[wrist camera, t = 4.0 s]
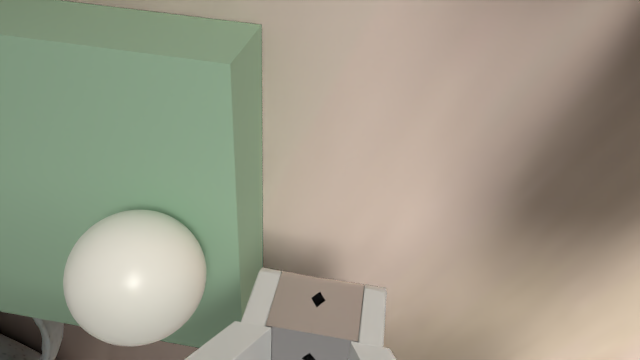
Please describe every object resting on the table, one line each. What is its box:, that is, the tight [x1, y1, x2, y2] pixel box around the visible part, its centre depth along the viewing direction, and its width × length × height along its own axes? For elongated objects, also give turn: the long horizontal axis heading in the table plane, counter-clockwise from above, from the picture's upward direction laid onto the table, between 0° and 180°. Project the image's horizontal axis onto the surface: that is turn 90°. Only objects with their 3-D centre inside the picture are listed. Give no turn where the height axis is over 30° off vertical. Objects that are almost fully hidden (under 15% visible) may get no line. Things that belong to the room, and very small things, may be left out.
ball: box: [63, 210, 206, 347], centre depth 12 cm, size 3×3×3 cm
